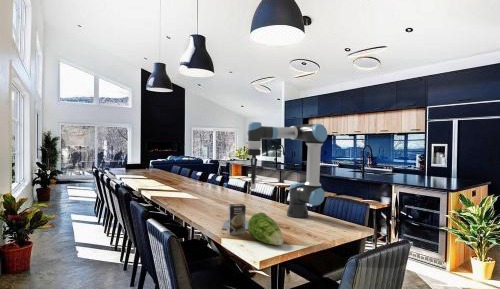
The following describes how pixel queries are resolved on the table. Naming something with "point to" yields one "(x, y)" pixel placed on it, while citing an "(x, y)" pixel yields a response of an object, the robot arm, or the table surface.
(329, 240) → the table surface
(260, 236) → the lettuce
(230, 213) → the coffee box
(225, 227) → the mat
